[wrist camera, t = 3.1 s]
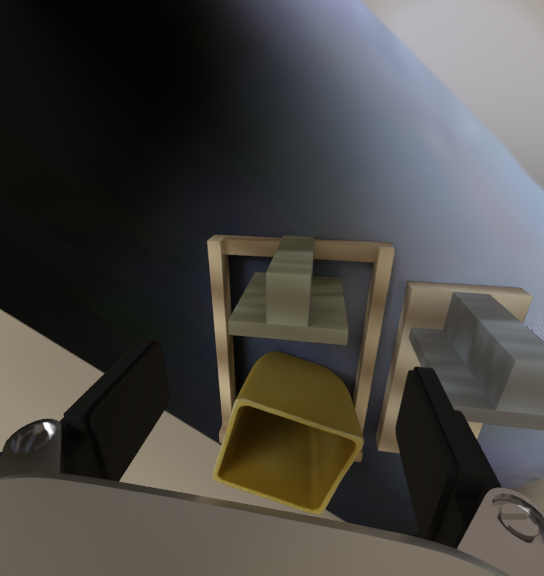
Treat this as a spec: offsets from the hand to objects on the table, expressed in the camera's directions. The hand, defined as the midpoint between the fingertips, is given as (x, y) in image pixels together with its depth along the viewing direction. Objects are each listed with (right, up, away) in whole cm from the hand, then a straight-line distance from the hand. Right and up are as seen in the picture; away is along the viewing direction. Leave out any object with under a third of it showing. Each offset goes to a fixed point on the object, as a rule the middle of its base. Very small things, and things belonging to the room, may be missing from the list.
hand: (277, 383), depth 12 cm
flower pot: (+2, -5, +18) cm, 19 cm away
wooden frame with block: (+2, -2, +16) cm, 16 cm away
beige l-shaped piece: (+14, -4, +15) cm, 21 cm away
